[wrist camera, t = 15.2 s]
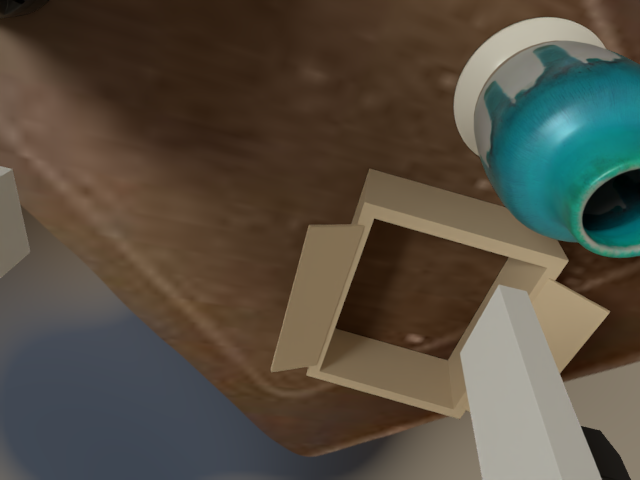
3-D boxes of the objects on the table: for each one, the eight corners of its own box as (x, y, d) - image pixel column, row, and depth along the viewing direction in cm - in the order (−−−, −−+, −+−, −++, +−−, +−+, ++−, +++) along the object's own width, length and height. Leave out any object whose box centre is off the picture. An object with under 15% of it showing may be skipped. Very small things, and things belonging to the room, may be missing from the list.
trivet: (432, 144, 40) (432, 146, 40) (490, -3, 34) (492, -2, 33) (560, 180, 40) (562, 183, 40) (643, 41, 34) (647, 42, 33)
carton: (286, 321, 55) (266, 384, 47) (330, 157, 43) (314, 204, 34) (483, 378, 55) (498, 451, 47) (584, 229, 43) (627, 293, 35)
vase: (633, 94, 35) (827, 210, 19) (519, 183, 41) (597, 333, 25) (547, -4, 33) (689, 35, 17) (437, 104, 38) (465, 214, 22)
